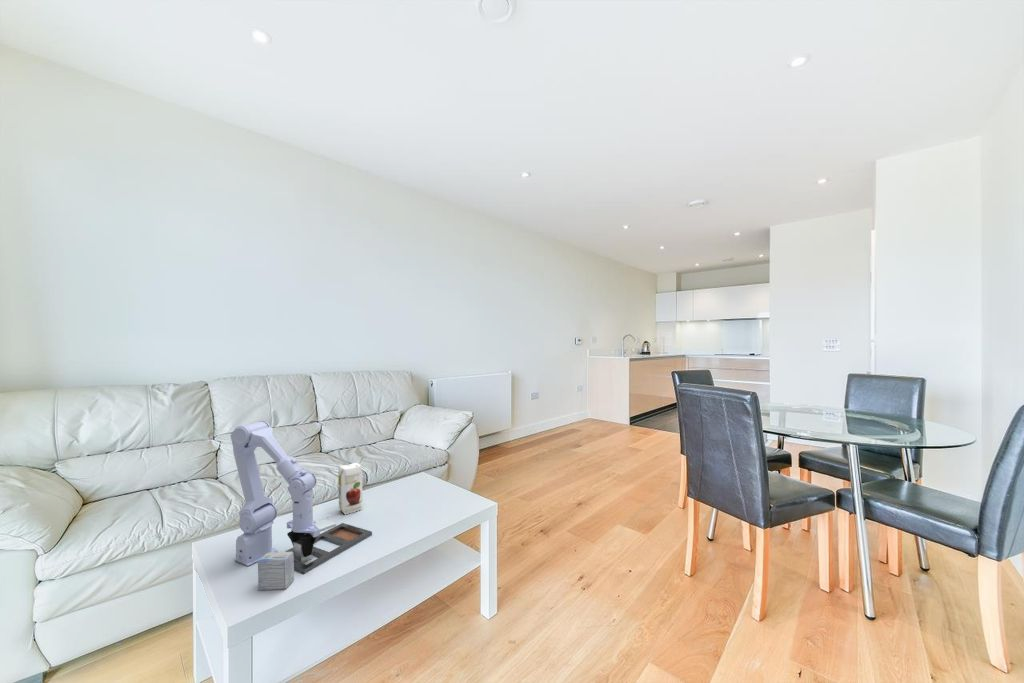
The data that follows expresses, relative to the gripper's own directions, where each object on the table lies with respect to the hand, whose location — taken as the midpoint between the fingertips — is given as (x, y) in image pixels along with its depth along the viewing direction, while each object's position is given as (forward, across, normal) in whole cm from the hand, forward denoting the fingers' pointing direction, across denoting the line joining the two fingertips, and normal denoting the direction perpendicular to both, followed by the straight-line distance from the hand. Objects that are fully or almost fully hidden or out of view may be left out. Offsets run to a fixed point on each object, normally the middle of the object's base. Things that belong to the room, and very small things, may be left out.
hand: (303, 553), depth 121 cm
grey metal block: (+2, 0, 0) cm, 2 cm away
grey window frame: (+2, 0, -8) cm, 8 cm away
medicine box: (+2, -6, +12) cm, 14 cm away
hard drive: (+2, +16, -15) cm, 22 cm away
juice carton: (+2, +17, -32) cm, 36 cm away
